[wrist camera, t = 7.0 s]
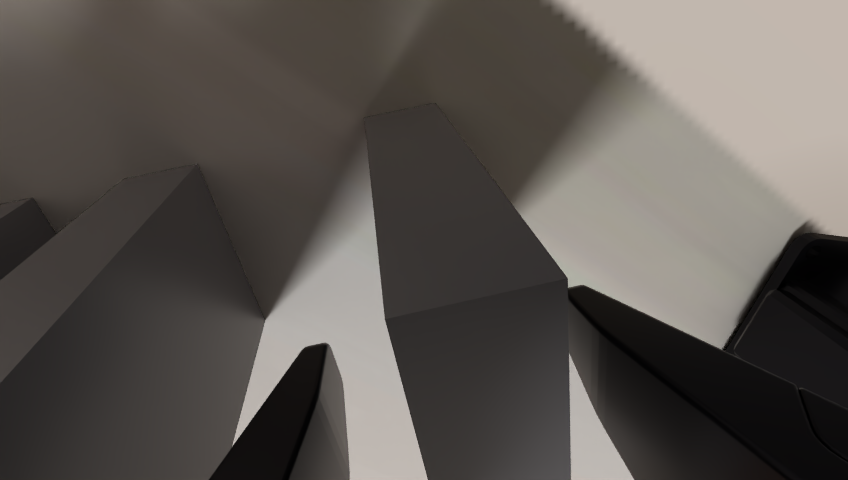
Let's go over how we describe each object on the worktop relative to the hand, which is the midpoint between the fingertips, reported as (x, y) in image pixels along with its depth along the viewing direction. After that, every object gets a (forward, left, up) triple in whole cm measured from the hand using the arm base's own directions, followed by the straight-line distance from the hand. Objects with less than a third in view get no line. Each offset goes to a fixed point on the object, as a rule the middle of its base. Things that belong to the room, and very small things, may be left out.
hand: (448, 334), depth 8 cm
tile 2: (+5, +2, -5) cm, 8 cm away
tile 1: (0, 0, -5) cm, 5 cm away
